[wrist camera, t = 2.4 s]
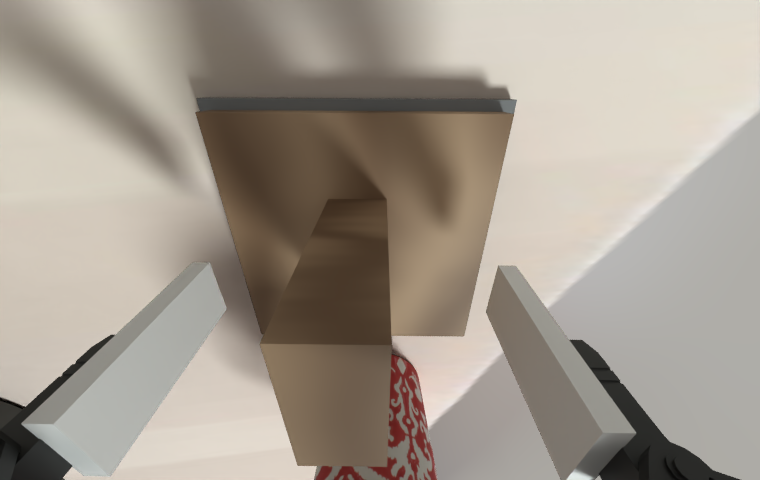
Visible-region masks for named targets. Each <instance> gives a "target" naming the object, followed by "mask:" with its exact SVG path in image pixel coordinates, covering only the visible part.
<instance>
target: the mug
mask: <svg viewBox="0 0 760 480" xmlns="http://www.w3.org/2000/svg"><path fill="white" fill-rule="evenodd" d="M314 480H437V475H436V469H435V463H434V458H433V452H432V447H431V442H430V436H429V431H428V426H427V421H426V415H425V410H424V405H423V399H422V394H421V388H420V383H419V378H418V375H417V372H416V370H415V369H414V367H413V366H412V365H411V364H410V363H409V362H407V361H406V360H404V359H402V358H400V357H398V356H395V355H392V354H391V378H390V404H389V431H388V457H387V467H363V466H317V469H316V473H315V478H314Z"/></svg>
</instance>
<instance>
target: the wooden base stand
mask: <svg viewBox="0 0 760 480" xmlns="http://www.w3.org/2000/svg"><path fill="white" fill-rule="evenodd" d="M195 113H196V116H197V119H198V123H199V126H200V129H201V133H202V136H203V139H204V143H205V146H206V149H207V153H208V156H209V159H210V163H211V166H212V170H213V173H214V176H215V180H216V183H217V186H218V190H219V193H220V196H221V200H222V203H223V206H224V210H225V213H226V216H227V220H228V223H229V226H230V230H231V233H232V236H233V240H234V243H235V246H236V250H237V253H238V256H239V260H240V263H241V266H242V270H243V273H244V277H245V280H246V283H247V287H248V290H249V293H250V297H251V300H252V303H253V307H254V310H255V313H256V317H257V320H258V323H259V327H260V330H261V333H262V334H264V336H263V338H262V340H261V342H260V347H261V350H262V353H263V356H264V359H265V363H266V366H267V369H268V372H269V375H270V379H271V382H272V385H273V388H274V391H275V395H276V398H277V401H278V404H279V407H280V411H281V414H282V417H283V420H284V423H285V427H286V430H287V433H288V436H289V439H290V443H291V446H292V449H293V452H294V455H295V459H296V462H297V465H298V466H363V467H387V457H388V431H389V404H390V378H391V352H392V338H391V336H464V334H465V330H466V325H467V321H468V316H469V312H470V308H471V303H472V299H473V294H474V290H475V285H476V281H477V276H478V272H479V268H480V263H481V259H482V254H483V250H484V245H485V241H486V236H487V232H488V228H489V223H490V219H491V214H492V210H493V205H494V201H495V196H496V192H497V188H498V183H499V179H500V174H501V170H502V165H503V161H504V156H505V152H506V148H507V143H508V139H509V134H510V130H511V125H512V121H513V117H514V114H511V113H507V112H459V111H290V110H207V111H201V112H195Z"/></svg>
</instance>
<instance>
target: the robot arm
mask: <svg viewBox="0 0 760 480" xmlns="http://www.w3.org/2000/svg"><path fill="white" fill-rule="evenodd" d="M226 309H227V308H226V305H225V303H224V300H223V297H222V294H221V292H220V289H219V286H218V284H217V281H216V278H215V275H214V273H213V270H212V267H211V264H210V263H198V262H193V263H192V264H190V265H189V266H188V267H187V268H186V269H185V270H184V271H183V272H182V273H181V274H180V275H179V276H178V277H177V278H176V279H174V280H173V281H172V282H171V283H170V284H169V285H168V286H167V287H166V288H165V289H164V290H163V291H162V292H161V293H160V294H159V295H157V296H156V297H155V298H154V299H153V300H152V301H151V302H150V303H149V304H148V305H147V306H146V307H145V308H144V309H143V310H141V311H140V312H139V313H138V314H137V315H136V316H135V317H134V318H133V319H132V320H131V321H130V322H129V323H128V324H127V325H126V326H124V327H123V328H122V329H121V330H120V331H119V332H118V333H117V334H116V335H110V336H109V337H107V338H105V339H104V340H102V341H101V342H99V343H97V344H96V345H94V346H93V347H91V348H90V349H89V350H88V351H87V352H86V353H85V354H84V355H82V356H81V357H80V358H79V359H78V360H77V361H76V363H75V364H72V365H71V366H70V367H69V368H68V369H67V370H66V371H65V372H64V373H63V375H62V376H61V377H58V378H57V379H56V380H55V381H54V382H53V383H51V384H50V385H49V386H48V387H47V388H46V389H45V390H44V391H43V392H42V393H40V394H39V395H38V396H37V397H36V398H35V399H34V400H33V401H32V402H30V403H29V404H28V405H27V406H26V407H25V408H24V409H21V408H18V407H16V406H13V405H11V404H8V403H5V402H2V401H0V480H65V479H63V477H64V476H65V474H66V473H67V472H68V471H69V469H70V468H71V467H73V468H75V469H76V470H77V471H78V472H79V473H81V474H82V475H83V476H111V475H112V473H113V472H114V471H115V469H116V468H117V466H118V465H119V463H120V462H121V460H122V459H123V458H124V456H125V455H126V453H127V452H128V450H129V449H130V448H131V446H132V445H133V443H134V442H135V440H136V439H137V437H138V436H139V435H140V433H141V432H142V430H143V429H144V427H145V426H146V425H147V423H148V422H149V420H150V419H151V417H152V416H153V414H154V413H155V412H156V410H157V409H158V407H159V406H160V404H161V403H162V401H163V400H164V399H165V397H166V396H167V394H168V393H169V391H170V390H171V389H172V387H173V386H174V384H175V383H176V381H177V380H178V378H179V377H180V376H181V374H182V373H183V371H184V370H185V368H186V367H187V365H188V364H189V363H190V361H191V360H192V358H193V357H194V355H195V354H196V353H197V351H198V350H199V348H200V347H201V345H202V344H203V342H204V341H205V340H206V338H207V337H208V335H209V334H210V332H211V331H212V329H213V328H214V327H215V325H216V324H217V322H218V321H219V319H220V318H221V317H222V315H223V314H224V312H225V311H226ZM486 313H487V315H488V318H489V320H490V322H491V324H492V327H493V329H494V331H495V333H496V336H497V338H498V340H499V342H500V345H501V347H502V349H503V351H504V354H505V356H506V358H507V360H508V363H509V365H510V367H511V369H512V371H513V374H514V376H515V378H516V380H517V383H518V385H519V387H520V389H521V392H522V394H523V396H524V398H525V401H526V403H527V405H528V407H529V409H530V412H531V414H532V416H533V419H534V421H535V423H536V425H537V428H538V430H539V432H540V434H541V436H542V439H543V441H544V443H545V445H546V448H547V450H548V452H549V454H550V456H551V459H552V461H553V463H554V466H555V468H556V470H557V472H558V474H559V477H560V479H561V480H595V479H596V478H597V477H598V476H599V475H600V477H601V479H602V480H740V479H736V478H734V477H731V476H727V475H725V474H722V473H719V472H716V471H713V470H712V469H710V467H709V466H707V465H706V464H705V463H704V462H703V461H702V460H701V459H700V458H699V457H697V456H695V455H694V454H692V453H691V452H689V451H688V450H686V449H685V448H683V447H680V446H678V445H676V444H673V443H671V442H669V441H668V440H667V438H666V437H665V436H664V435H663V434H662V433H661V431H660V430H659V429H658V428H657V426H656V425H655V424H654V423H653V422H652V420H651V419H650V418H649V416H648V415H647V414H646V413H645V411H644V410H643V409H642V408H641V406H640V405H639V404H638V403H637V401H636V400H635V399H634V398H633V396H632V395H631V394H630V393H629V391H628V390H627V389H626V387H625V386H624V385H623V384H621V383H620V380H619V379H618V377H617V376H616V375H615V374H614V372H613V371H611V370H610V367H609V366H608V365H607V364H606V362H605V361H604V360H603V358H602V357H601V356H600V355H599V354H598V352H596V351H595V350H594V349H593V348H591V347H590V346H589V345H588V344H586V343H585V342H584V341H583V340H569V339H568V338H567V336H566V335H565V334H564V332H563V331H562V329H561V328H560V326H559V325H558V324H557V322H556V321H555V320H554V318H553V317H552V316H551V314H550V313H549V311H548V310H547V308H546V307H545V306H544V304H543V303H542V302H541V300H540V299H539V297H538V296H537V295H536V293H535V292H534V290H533V289H532V288H531V286H530V285H529V284H528V282H527V281H526V279H525V278H524V277H523V275H522V274H521V272H520V271H519V270H518V268H517V267H516V266H498V269H497V272H496V276H495V280H494V284H493V287H492V291H491V295H490V299H489V302H488V306H487V310H486Z"/></svg>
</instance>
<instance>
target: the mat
mask: <svg viewBox="0 0 760 480" xmlns="http://www.w3.org/2000/svg"><path fill="white" fill-rule="evenodd" d="M516 101H517V100H512V99H356V98H197V102H198V105H199V109H200V112H201V111H207V110H290V111H459V112H507V113H511V114H514V110H515V106H516Z"/></svg>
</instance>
